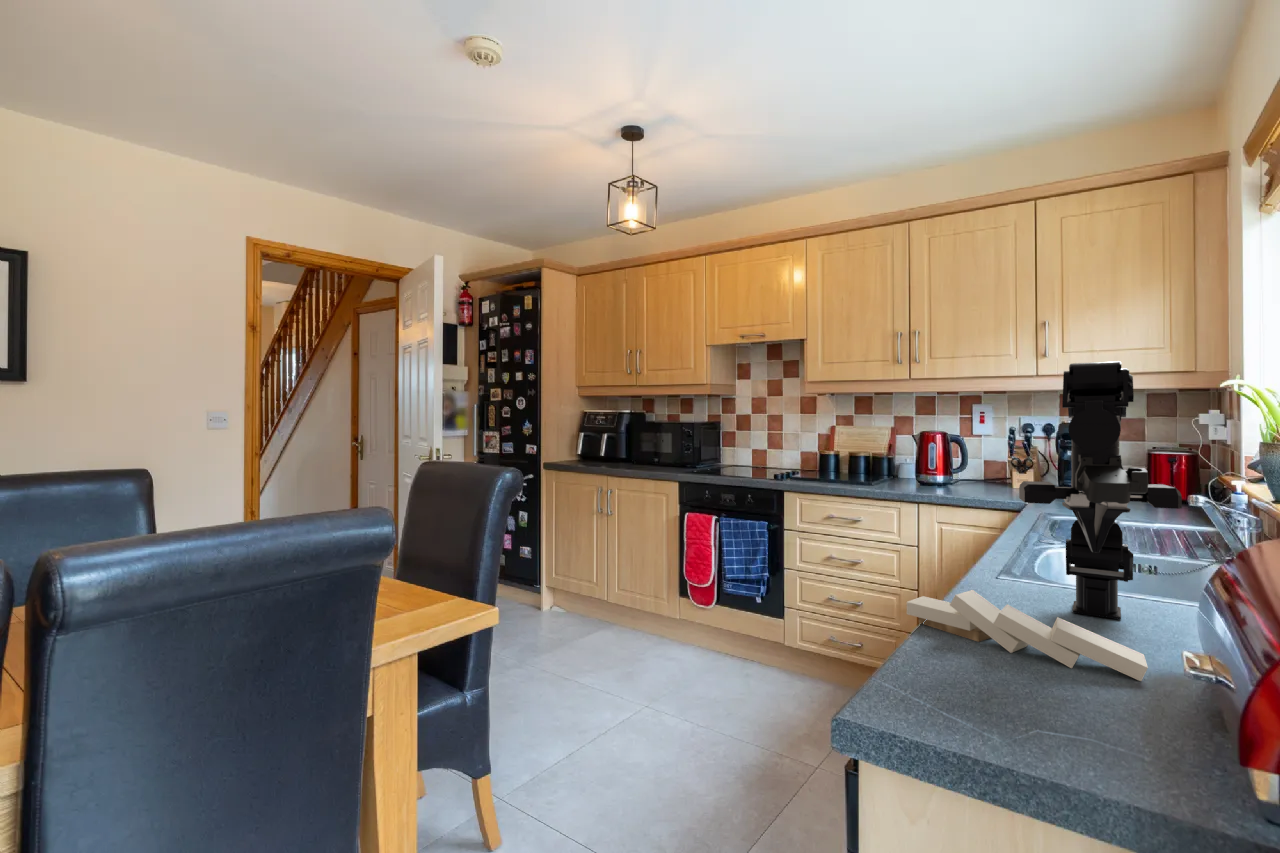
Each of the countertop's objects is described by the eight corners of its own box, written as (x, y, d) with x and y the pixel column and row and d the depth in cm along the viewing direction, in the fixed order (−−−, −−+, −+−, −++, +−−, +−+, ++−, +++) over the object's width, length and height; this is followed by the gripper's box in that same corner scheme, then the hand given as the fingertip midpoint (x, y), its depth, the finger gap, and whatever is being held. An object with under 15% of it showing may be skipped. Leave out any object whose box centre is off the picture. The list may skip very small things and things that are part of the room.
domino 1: (969, 630, 93) (906, 614, 101) (985, 623, 96) (922, 607, 104) (969, 617, 93) (906, 601, 101) (985, 610, 96) (922, 596, 104)
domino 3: (1011, 653, 87) (949, 605, 94) (1027, 646, 90) (966, 599, 97) (1018, 642, 86) (955, 594, 94) (1034, 635, 89) (972, 589, 96)
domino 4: (1071, 668, 82) (993, 624, 88) (1076, 657, 86) (1001, 615, 92) (1078, 656, 81) (999, 612, 87) (1083, 645, 85) (1007, 604, 91)
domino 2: (978, 645, 92) (918, 626, 101) (998, 639, 95) (938, 620, 103) (978, 632, 92) (918, 614, 101) (998, 626, 94) (938, 608, 103)
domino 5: (1141, 681, 78) (1050, 640, 83) (1137, 667, 82) (1051, 629, 87) (1148, 667, 77) (1056, 627, 83) (1143, 654, 81) (1057, 617, 87)
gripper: (1030, 449, 88) (1031, 559, 88) (1198, 450, 80) (1198, 570, 81) (1018, 445, 98) (1018, 543, 98) (1166, 446, 91) (1166, 552, 91)
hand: (1095, 552), depth 92 cm, fingers closed
